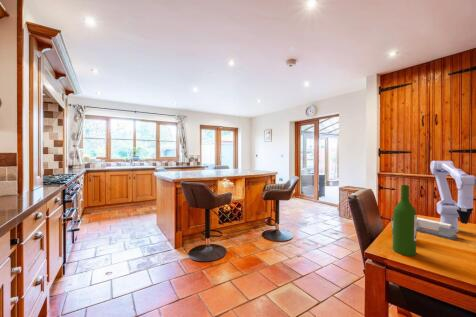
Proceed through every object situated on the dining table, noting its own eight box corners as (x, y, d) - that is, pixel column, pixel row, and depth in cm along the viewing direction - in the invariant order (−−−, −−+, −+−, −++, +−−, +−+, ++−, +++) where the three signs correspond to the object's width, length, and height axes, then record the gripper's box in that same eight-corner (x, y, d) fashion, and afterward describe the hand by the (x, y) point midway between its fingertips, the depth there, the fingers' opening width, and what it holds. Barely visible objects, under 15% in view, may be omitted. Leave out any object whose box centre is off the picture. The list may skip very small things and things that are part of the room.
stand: (410, 225, 137) (410, 217, 137) (457, 237, 119) (457, 227, 118) (404, 228, 133) (405, 219, 133) (453, 240, 114) (453, 230, 114)
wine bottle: (417, 258, 96) (419, 187, 95) (393, 253, 100) (394, 185, 100) (414, 250, 103) (415, 184, 102) (391, 246, 108) (392, 183, 107)
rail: (412, 222, 134) (412, 216, 134) (451, 231, 119) (451, 224, 119) (409, 223, 132) (410, 217, 132) (449, 232, 117) (449, 225, 117)
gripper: (456, 194, 122) (455, 217, 122) (453, 198, 113) (452, 222, 113) (474, 196, 117) (474, 220, 117) (472, 200, 107) (472, 226, 108)
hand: (464, 221), depth 115 cm, fingers open, 7 cm apart
